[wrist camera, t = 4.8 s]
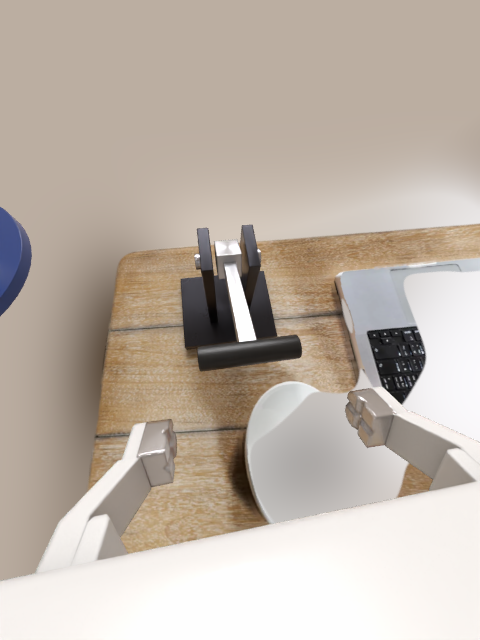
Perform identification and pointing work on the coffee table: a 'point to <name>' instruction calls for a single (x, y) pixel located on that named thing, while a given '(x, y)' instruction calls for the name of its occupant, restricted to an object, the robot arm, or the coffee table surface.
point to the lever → (242, 323)
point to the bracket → (224, 296)
